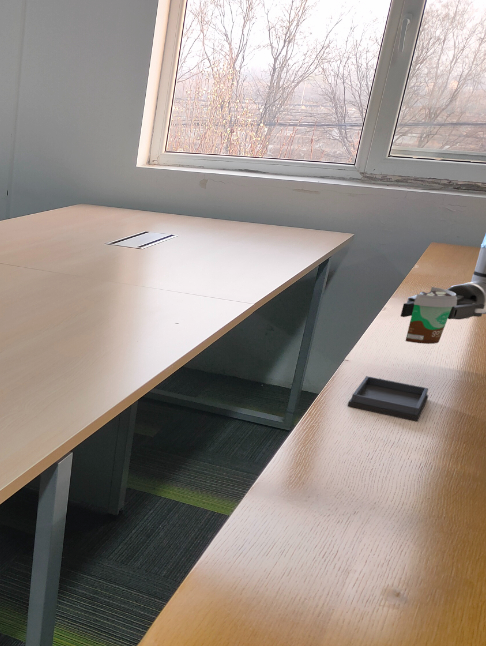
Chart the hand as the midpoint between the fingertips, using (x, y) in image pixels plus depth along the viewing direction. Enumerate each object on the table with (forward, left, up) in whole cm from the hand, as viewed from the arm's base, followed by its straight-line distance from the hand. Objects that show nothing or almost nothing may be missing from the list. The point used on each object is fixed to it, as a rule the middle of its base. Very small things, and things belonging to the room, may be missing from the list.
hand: (411, 311), depth 163 cm
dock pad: (-1, +7, -18) cm, 19 cm away
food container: (-4, -4, -6) cm, 9 cm away
